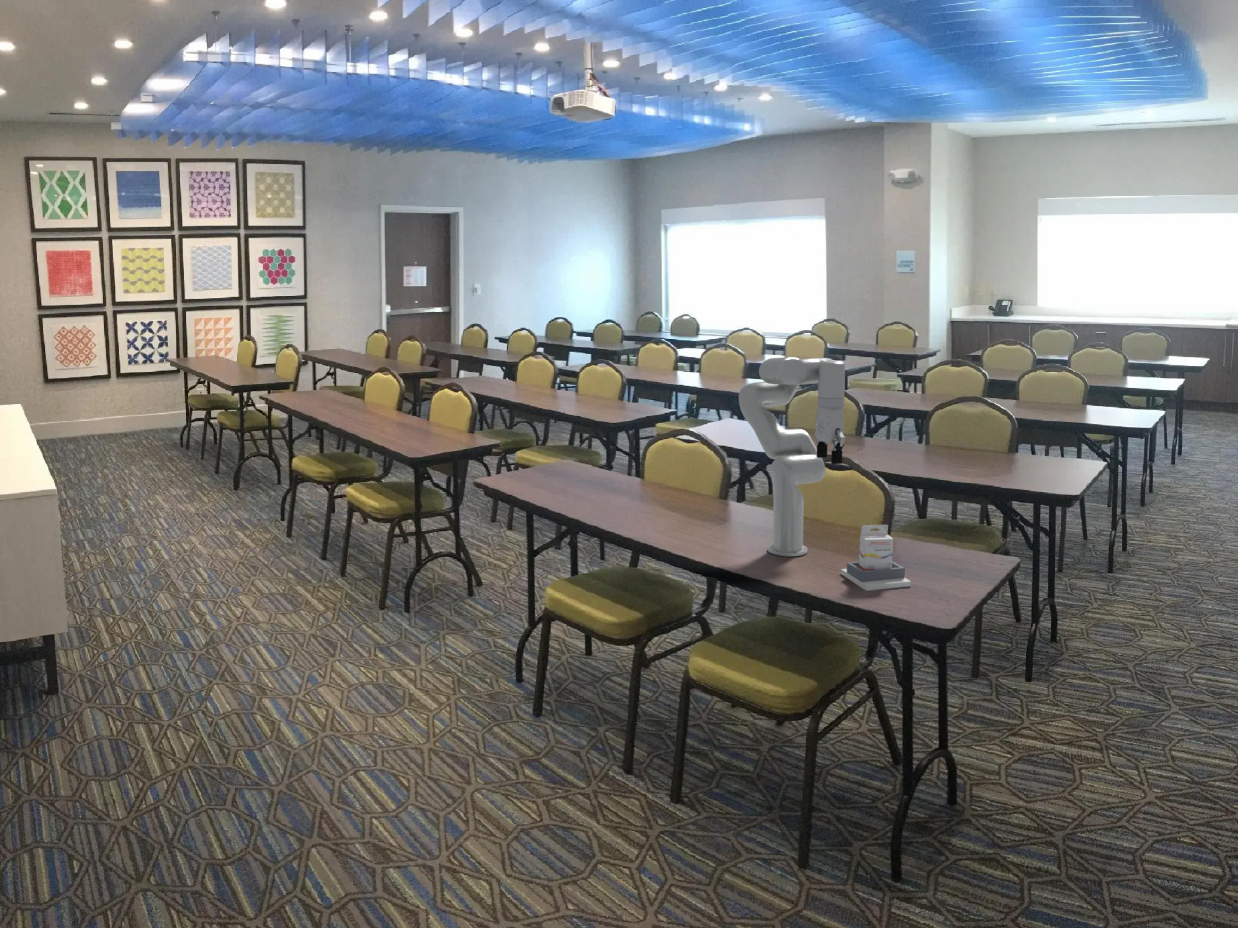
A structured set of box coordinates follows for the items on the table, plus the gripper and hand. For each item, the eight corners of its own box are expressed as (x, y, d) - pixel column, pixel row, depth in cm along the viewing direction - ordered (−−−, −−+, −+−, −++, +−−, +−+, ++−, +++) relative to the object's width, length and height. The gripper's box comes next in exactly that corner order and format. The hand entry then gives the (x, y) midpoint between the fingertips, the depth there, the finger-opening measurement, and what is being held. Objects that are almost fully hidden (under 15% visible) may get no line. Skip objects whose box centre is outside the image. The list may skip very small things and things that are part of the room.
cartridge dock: (840, 573, 288) (841, 559, 287) (883, 569, 291) (883, 555, 290) (866, 590, 272) (866, 575, 271) (910, 586, 275) (911, 571, 275)
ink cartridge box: (863, 578, 278) (865, 529, 275) (858, 573, 283) (859, 525, 280) (892, 577, 279) (894, 528, 276) (886, 571, 284) (888, 523, 281)
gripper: (806, 400, 288) (805, 455, 291) (832, 408, 271) (830, 467, 275) (829, 398, 289) (827, 454, 293) (856, 406, 273) (854, 465, 276)
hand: (829, 460), depth 284 cm, fingers open, 9 cm apart
